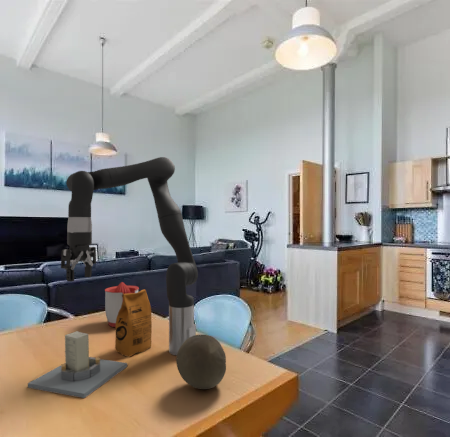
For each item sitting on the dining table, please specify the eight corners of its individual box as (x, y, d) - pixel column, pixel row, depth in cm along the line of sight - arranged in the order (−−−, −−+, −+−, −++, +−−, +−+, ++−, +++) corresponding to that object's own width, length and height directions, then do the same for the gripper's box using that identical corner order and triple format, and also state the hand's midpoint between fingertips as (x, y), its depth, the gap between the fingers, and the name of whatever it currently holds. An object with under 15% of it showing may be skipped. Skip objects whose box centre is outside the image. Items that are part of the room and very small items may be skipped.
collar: (106, 367, 103) (106, 356, 103) (82, 383, 92) (82, 371, 92) (79, 362, 106) (79, 353, 106) (52, 378, 95) (52, 367, 95)
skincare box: (89, 373, 98) (89, 334, 99) (76, 379, 95) (76, 338, 95) (77, 368, 102) (77, 330, 102) (64, 374, 98) (64, 334, 98)
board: (127, 366, 106) (127, 362, 106) (84, 398, 87) (84, 393, 87) (78, 359, 111) (78, 355, 111) (27, 387, 92) (27, 383, 92)
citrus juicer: (114, 333, 138) (114, 287, 139) (99, 323, 151) (99, 282, 152) (146, 325, 149) (146, 282, 149) (130, 317, 162) (130, 278, 162)
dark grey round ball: (201, 372, 102) (201, 325, 102) (236, 386, 93) (235, 334, 93) (167, 390, 91) (167, 337, 91) (202, 408, 82) (202, 349, 82)
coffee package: (111, 351, 118) (111, 292, 118) (139, 342, 128) (139, 287, 128) (127, 358, 112) (127, 296, 112) (155, 347, 122) (155, 290, 122)
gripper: (84, 230, 114) (84, 275, 114) (54, 231, 101) (53, 282, 100) (102, 230, 113) (102, 276, 112) (74, 231, 99) (74, 283, 98)
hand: (79, 279), depth 106 cm, fingers open, 8 cm apart
